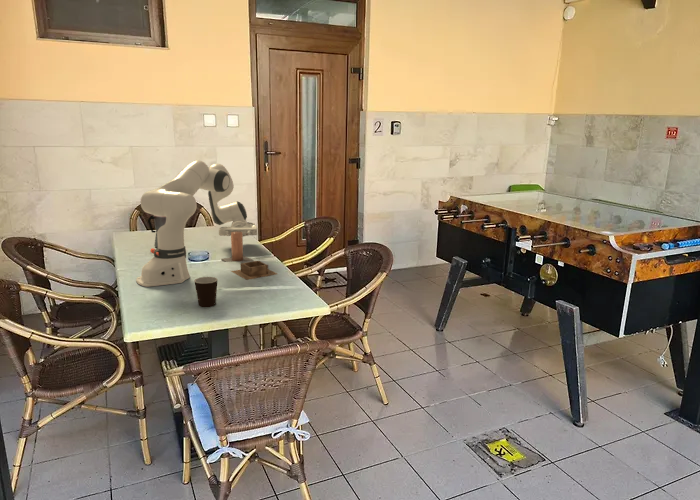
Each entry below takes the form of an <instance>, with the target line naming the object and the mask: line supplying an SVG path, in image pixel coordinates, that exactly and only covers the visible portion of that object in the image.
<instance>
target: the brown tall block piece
mask: <svg viewBox="0 0 700 500" xmlns="http://www.w3.org/2000/svg"><path fill="white" fill-rule="evenodd" d="M243 239H244V236H243V235H242V232H240V231H234V232H231V236H230V245H231V257H232V261H239V262H243V261H242V260H243V256H244V244H243V242H244V240H243Z"/></svg>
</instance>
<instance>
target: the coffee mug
mask: <svg viewBox="0 0 700 500" xmlns="http://www.w3.org/2000/svg"><path fill="white" fill-rule="evenodd" d="M194 287H195V292H196V299H197V303H198V307H200V308H205V309H207V308H211V307H215V306H216V305H217V304H216V303H217V294H218V293H217V291H218V278H217V277H215V276H202V277H197V278H195V279H194Z"/></svg>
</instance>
